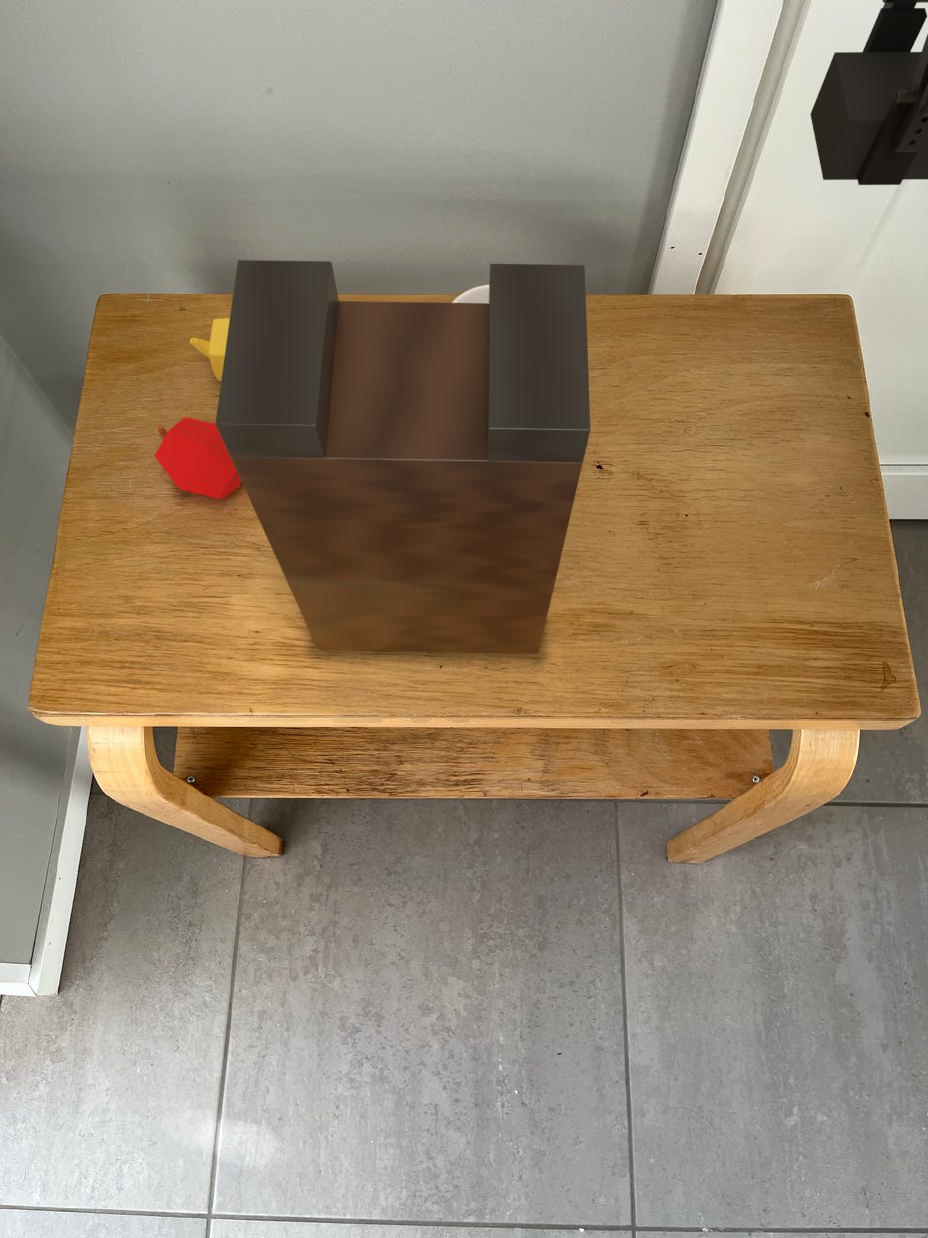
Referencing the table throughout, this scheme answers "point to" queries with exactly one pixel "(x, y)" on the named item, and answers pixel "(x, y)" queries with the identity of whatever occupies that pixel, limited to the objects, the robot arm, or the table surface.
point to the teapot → (214, 345)
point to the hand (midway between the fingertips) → (870, 141)
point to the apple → (197, 459)
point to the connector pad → (860, 110)
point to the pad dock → (410, 451)
